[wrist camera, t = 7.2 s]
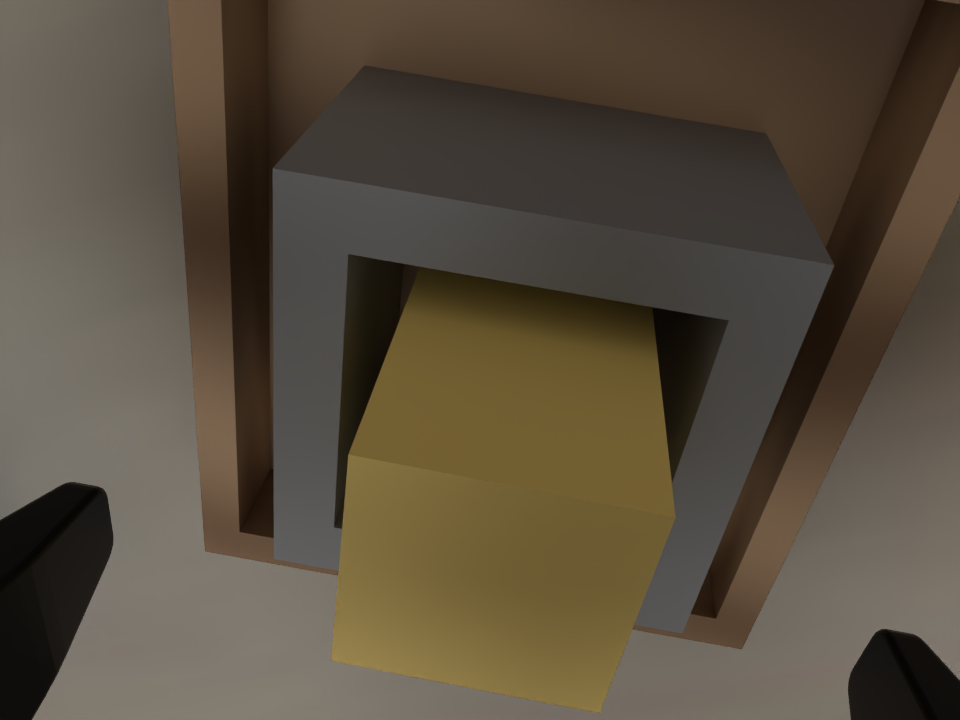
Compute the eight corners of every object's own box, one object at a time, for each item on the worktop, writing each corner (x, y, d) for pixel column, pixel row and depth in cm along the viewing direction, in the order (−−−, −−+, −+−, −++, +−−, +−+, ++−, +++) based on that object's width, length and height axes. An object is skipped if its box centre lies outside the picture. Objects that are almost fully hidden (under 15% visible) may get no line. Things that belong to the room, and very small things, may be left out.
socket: (662, 446, 18) (681, 633, 14) (346, 390, 19) (273, 558, 14) (765, 133, 15) (834, 265, 10) (364, 65, 15) (272, 168, 11)
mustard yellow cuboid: (598, 367, 18) (599, 713, 11) (431, 336, 18) (331, 660, 11) (641, 212, 16) (675, 517, 9) (454, 177, 16) (348, 454, 9)
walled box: (727, 564, 21) (741, 649, 19) (243, 477, 21) (204, 550, 19) (999, -72, 13) (1076, -48, 11) (224, -198, 13) (154, -198, 11)
